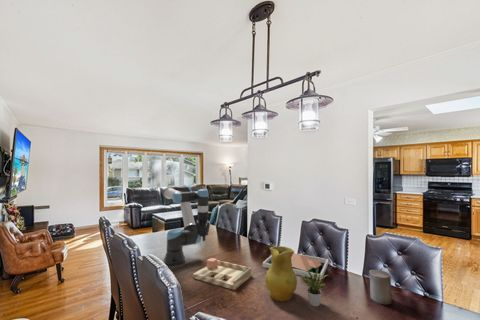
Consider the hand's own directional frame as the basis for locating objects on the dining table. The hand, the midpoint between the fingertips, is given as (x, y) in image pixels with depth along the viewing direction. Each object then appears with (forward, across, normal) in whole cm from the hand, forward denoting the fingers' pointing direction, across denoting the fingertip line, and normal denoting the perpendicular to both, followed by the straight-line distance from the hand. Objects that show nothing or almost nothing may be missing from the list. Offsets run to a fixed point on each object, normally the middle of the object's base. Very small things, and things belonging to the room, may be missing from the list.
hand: (202, 245), depth 162 cm
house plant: (+16, +78, -4) cm, 80 cm away
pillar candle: (+16, +107, +15) cm, 110 cm away
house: (+16, +56, +37) cm, 69 cm away
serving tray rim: (+16, +56, +38) cm, 69 cm away
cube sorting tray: (+16, +19, -4) cm, 25 cm away
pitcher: (+16, +60, -5) cm, 62 cm away
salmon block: (+13, +8, 0) cm, 16 cm away
